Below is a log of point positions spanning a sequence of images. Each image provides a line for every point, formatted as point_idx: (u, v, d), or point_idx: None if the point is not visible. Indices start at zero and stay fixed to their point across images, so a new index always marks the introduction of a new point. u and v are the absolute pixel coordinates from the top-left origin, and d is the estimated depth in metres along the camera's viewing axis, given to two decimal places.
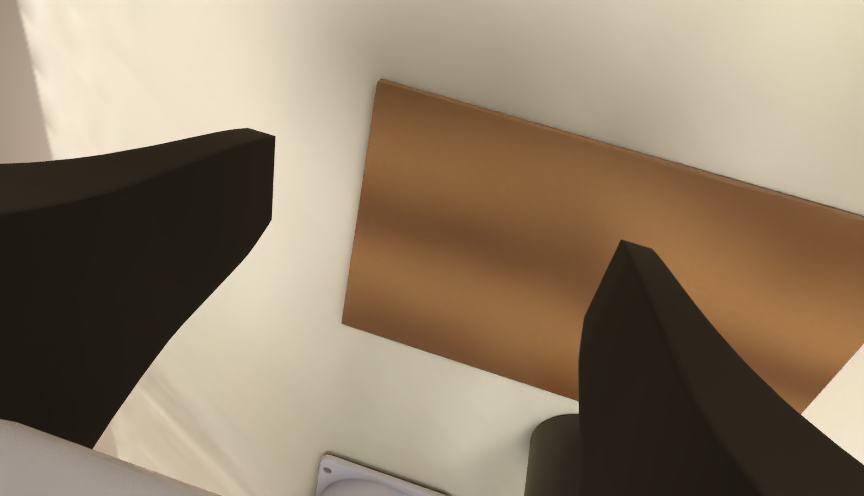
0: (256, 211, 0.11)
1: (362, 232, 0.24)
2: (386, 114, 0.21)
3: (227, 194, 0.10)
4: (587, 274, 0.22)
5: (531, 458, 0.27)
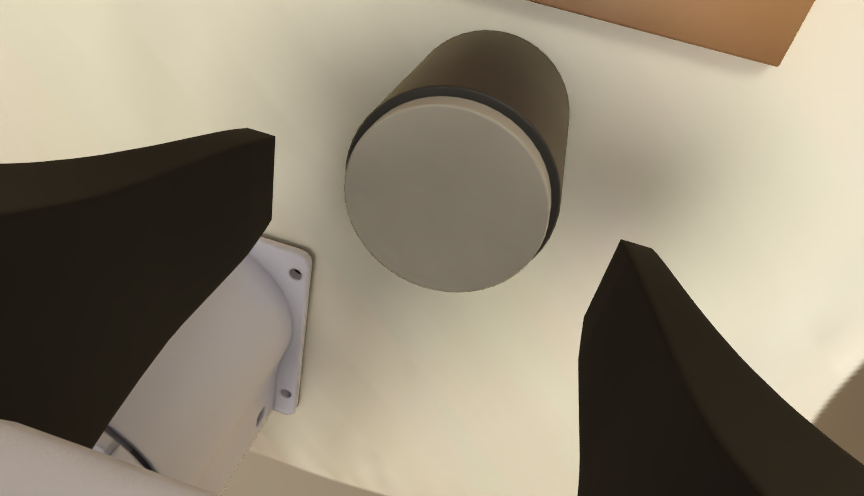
0: (256, 211, 0.11)
1: None
2: None
3: (227, 194, 0.10)
4: None
5: None
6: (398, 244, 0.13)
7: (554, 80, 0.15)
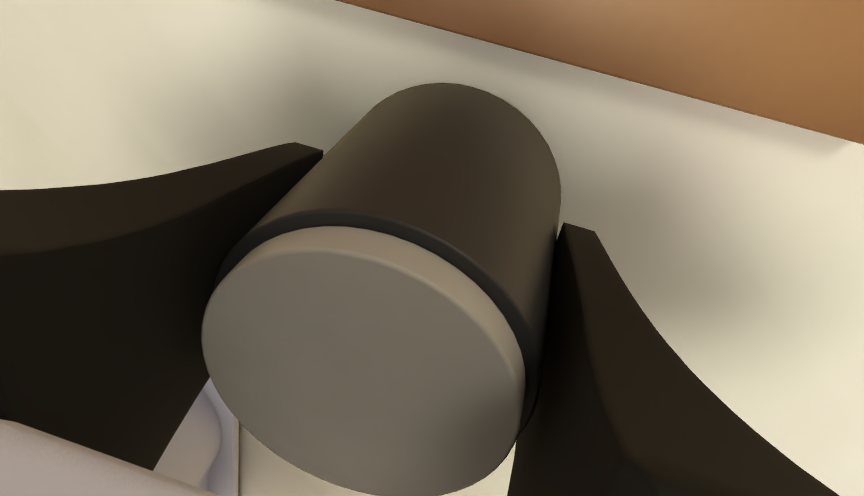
0: None
1: None
2: None
3: None
4: None
5: None
6: (293, 431, 0.09)
7: (538, 159, 0.11)
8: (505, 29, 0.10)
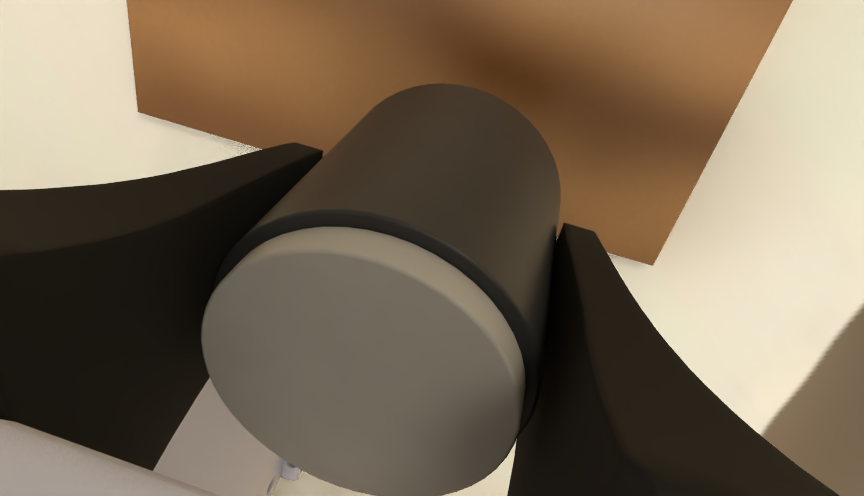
0: None
1: None
2: None
3: None
4: None
5: None
6: (293, 431, 0.09)
7: (537, 159, 0.11)
8: None
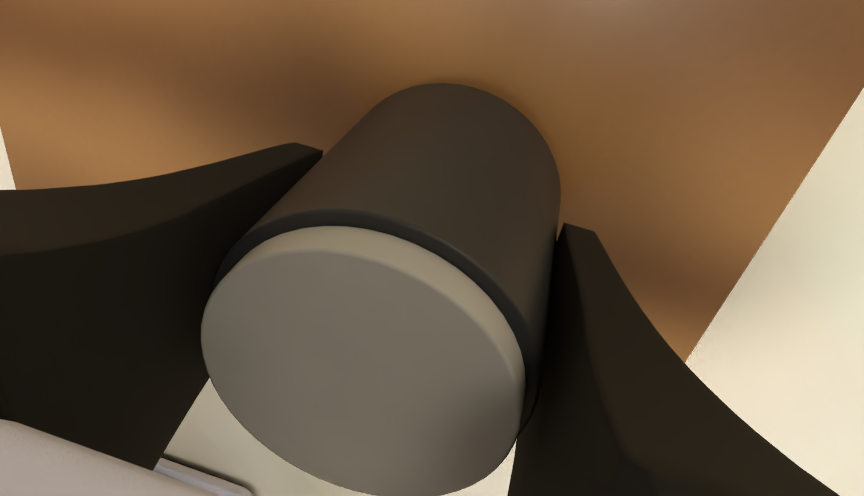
0: None
1: None
2: None
3: None
4: (327, 109, 0.13)
5: None
6: (292, 431, 0.09)
7: (538, 159, 0.11)
8: None
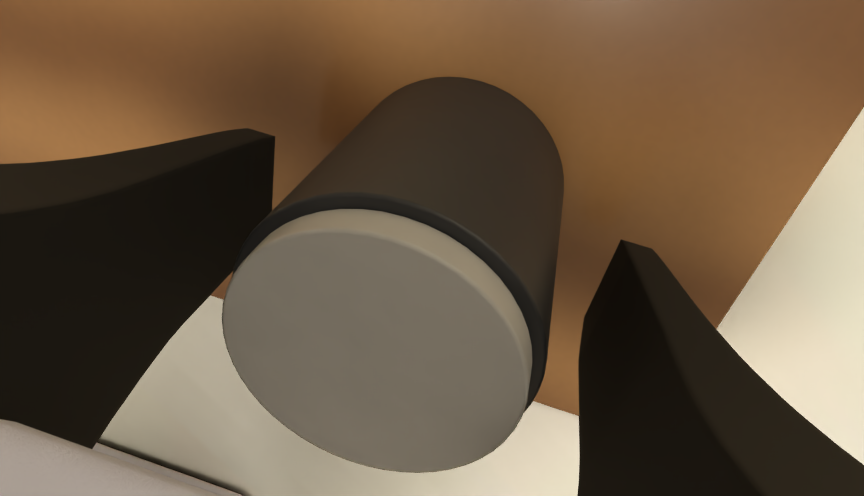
0: (256, 211, 0.11)
1: None
2: None
3: (227, 194, 0.10)
4: (322, 113, 0.13)
5: None
6: (309, 408, 0.09)
7: (542, 149, 0.11)
8: None
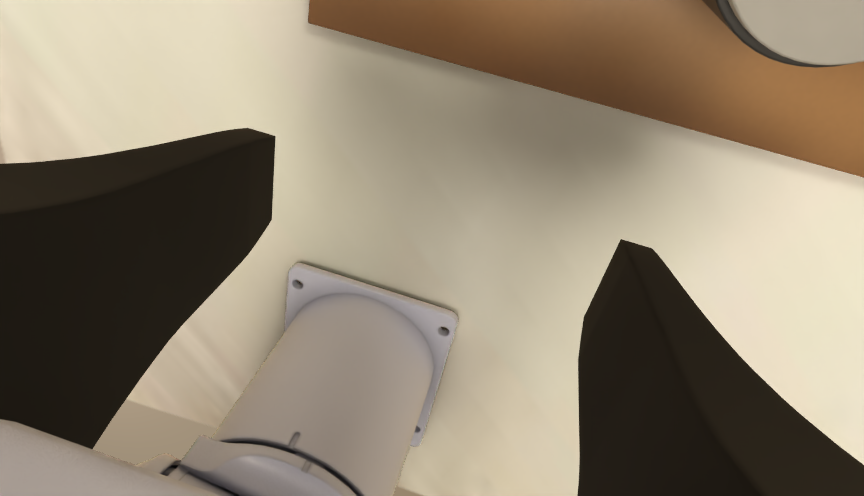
0: (256, 211, 0.11)
1: None
2: None
3: (227, 194, 0.10)
4: None
5: None
6: None
7: None
8: (691, 120, 0.18)
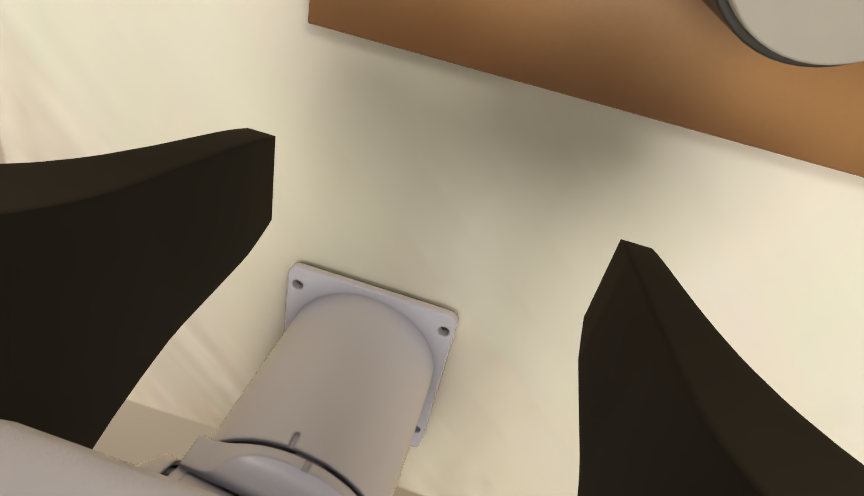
0: (256, 211, 0.11)
1: None
2: None
3: (227, 194, 0.10)
4: None
5: None
6: None
7: None
8: (691, 120, 0.18)
